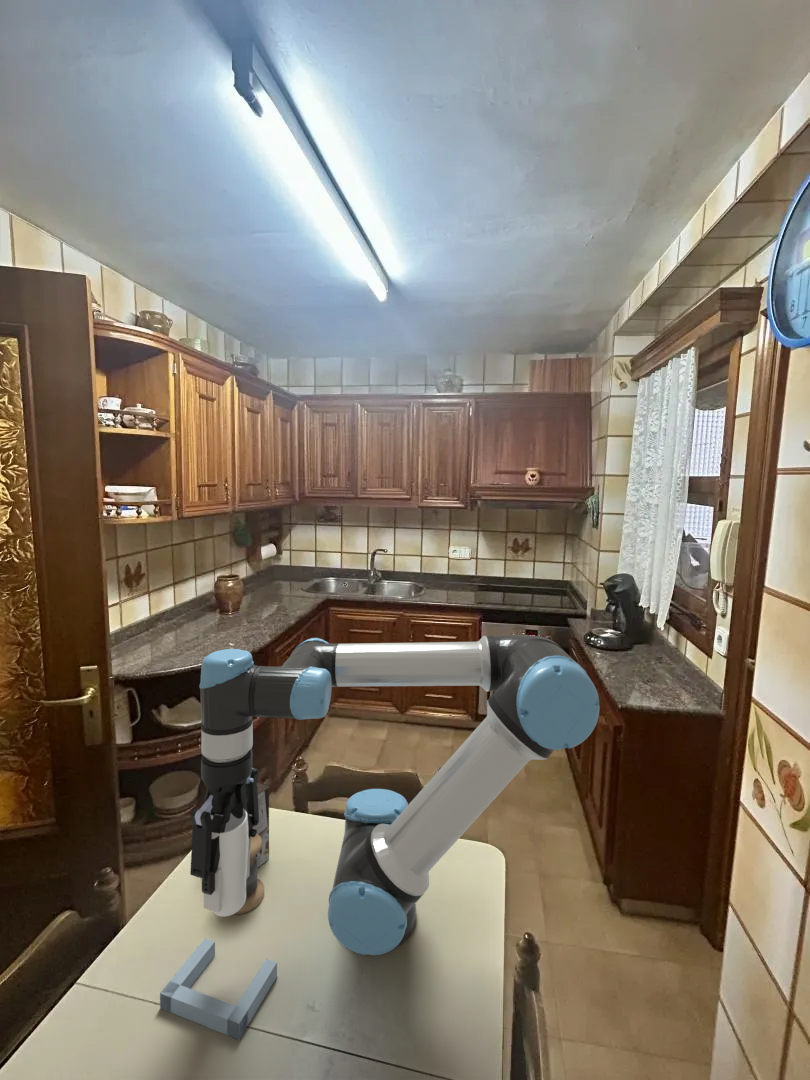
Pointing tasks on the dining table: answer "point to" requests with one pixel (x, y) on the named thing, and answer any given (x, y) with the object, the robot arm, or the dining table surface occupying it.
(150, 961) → the dining table surface
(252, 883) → the bobbin
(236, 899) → the drinking glass
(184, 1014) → the blue u-shaped block
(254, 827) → the coffee box
